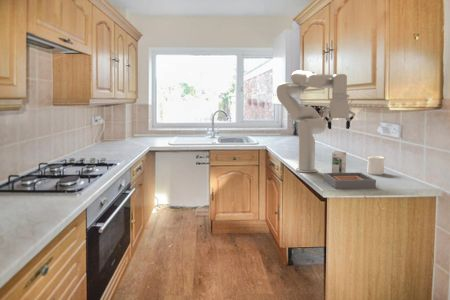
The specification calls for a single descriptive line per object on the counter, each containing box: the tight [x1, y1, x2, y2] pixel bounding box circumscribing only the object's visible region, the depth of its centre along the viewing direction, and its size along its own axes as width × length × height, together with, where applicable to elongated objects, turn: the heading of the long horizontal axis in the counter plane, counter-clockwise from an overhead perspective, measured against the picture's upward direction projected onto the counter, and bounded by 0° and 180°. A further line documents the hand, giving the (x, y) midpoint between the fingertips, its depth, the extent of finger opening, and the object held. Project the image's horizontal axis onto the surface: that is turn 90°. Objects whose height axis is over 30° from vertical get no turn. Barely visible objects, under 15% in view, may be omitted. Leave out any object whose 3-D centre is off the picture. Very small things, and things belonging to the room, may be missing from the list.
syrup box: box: [331, 150, 347, 173], centre depth 226 cm, size 6×6×14 cm
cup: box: [366, 155, 385, 176], centre depth 238 cm, size 10×10×10 cm
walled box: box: [323, 172, 377, 189], centre depth 210 cm, size 20×20×4 cm
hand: (338, 128), depth 223 cm, fingers open, 9 cm apart
